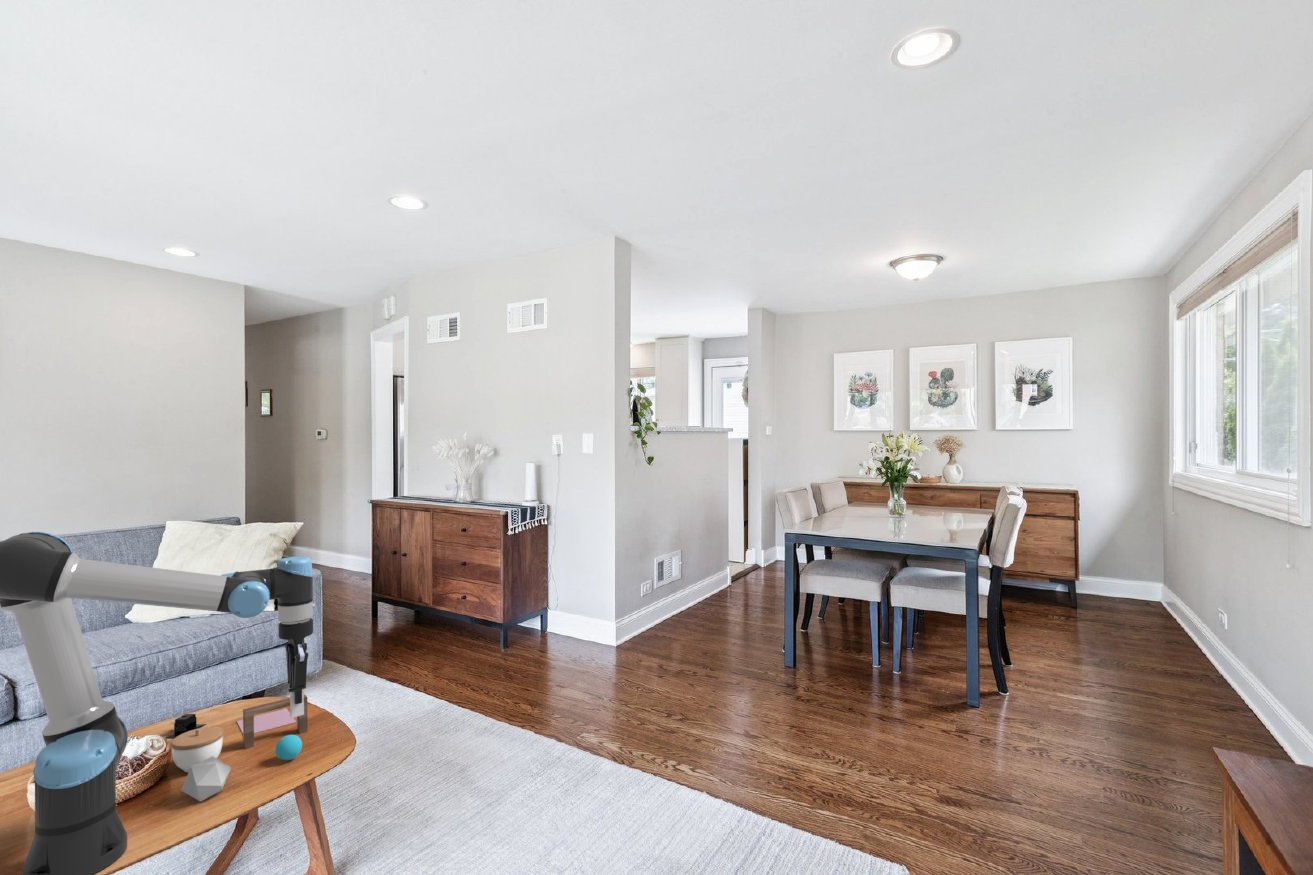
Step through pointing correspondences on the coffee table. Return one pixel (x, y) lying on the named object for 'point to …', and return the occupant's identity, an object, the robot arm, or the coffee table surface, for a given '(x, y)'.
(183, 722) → the black block on base
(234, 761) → the coffee table surface
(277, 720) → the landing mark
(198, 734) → the lidded jar
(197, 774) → the die
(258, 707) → the bridge
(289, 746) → the ball
